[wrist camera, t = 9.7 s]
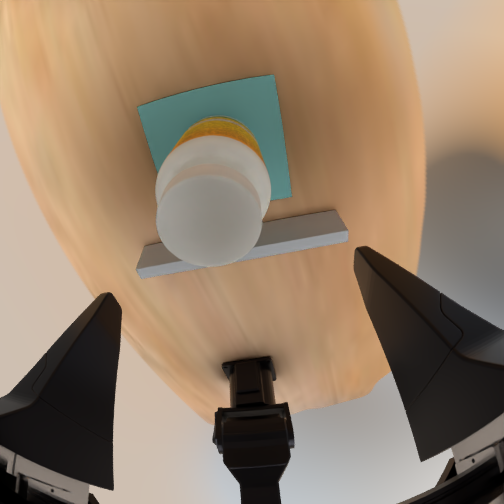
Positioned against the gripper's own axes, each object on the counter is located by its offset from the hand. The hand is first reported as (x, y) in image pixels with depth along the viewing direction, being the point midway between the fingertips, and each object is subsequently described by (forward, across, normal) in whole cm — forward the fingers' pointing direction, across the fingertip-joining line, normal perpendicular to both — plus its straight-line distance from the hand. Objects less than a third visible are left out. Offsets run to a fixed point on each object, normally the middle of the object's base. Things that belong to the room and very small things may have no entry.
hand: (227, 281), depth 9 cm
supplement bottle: (+12, 0, -1) cm, 12 cm away
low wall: (+12, 0, +6) cm, 13 cm away
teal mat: (+12, 0, -1) cm, 12 cm away
